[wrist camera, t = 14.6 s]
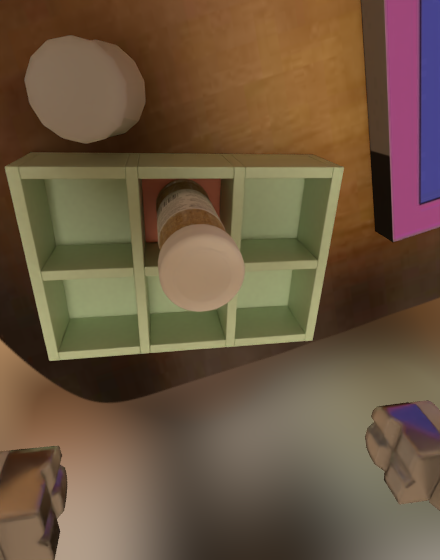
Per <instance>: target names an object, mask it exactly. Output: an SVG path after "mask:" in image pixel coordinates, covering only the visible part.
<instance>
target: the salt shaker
mask: <svg viewBox="0 0 440 560" xmlns="http://www.w3.org/2000/svg"><path fill="white" fill-rule="evenodd" d="M24 80H25V85H26V89H27V94H28V99H29V104H30V105H31V107H32V108H33V110H34V112H35V113H36V115H37V116H38V118H39V119H40V121H41V122H42V124H43V125H44V126H46V127H47V128H49V129H50V130H51V131H53V132H54V133H56V134H57V135H59V136H60V137H61V138H64V139H68V140H72V141H76V142H80V143H85V144H87V143H91V142H95V141H99V140H103V139H106V138H108V137H112V136H116V135H120V134H124V133H126V132H127V131H128V130H129V129H130V128H131V127H133V126H134V125H135V124H136V123H137V122H138V121H139V119H140V116H141V114H142V111H143V108H144V106H145V103H146V99H145V83H144V79H143V77H142V75H141V73H140V71H139V69H138V67H137V65H136V63H135V61H134V60H133V59H132V58H131V57H129V56H128V55H127V54H126V53H125V52H124V51H123V50H122V49H121V48H119V47H118V46H117V45H114V44H110V43H107V42H104V41H100V40H97V39H95V40H91V41H90V40H87V39H83V38H80V37H76V36H73V35H69V36H64V37H59V38H54V39H49V40H47V41H46V42H45V43H44V44H43V45H42V46H41V47H40V48H39V49H38V50H37V51H36V52H35V53H34V54H33V55H32V56H31V57H30V61H29V64H28V68H27V72H26V75H25V79H24Z"/></svg>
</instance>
